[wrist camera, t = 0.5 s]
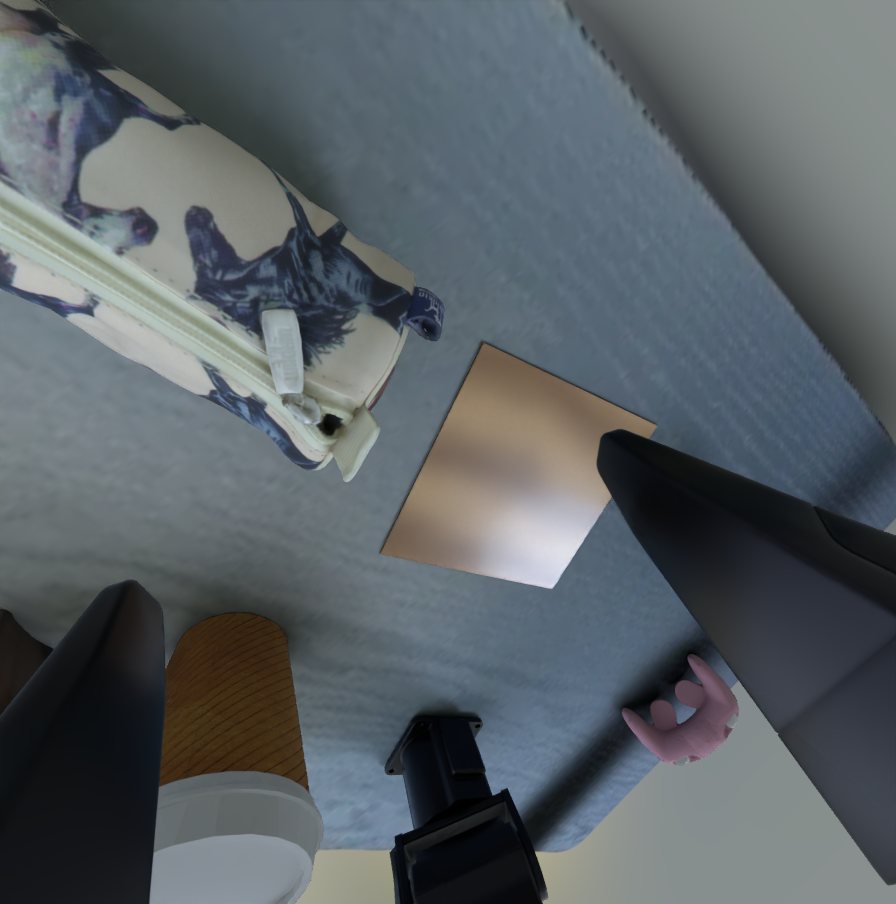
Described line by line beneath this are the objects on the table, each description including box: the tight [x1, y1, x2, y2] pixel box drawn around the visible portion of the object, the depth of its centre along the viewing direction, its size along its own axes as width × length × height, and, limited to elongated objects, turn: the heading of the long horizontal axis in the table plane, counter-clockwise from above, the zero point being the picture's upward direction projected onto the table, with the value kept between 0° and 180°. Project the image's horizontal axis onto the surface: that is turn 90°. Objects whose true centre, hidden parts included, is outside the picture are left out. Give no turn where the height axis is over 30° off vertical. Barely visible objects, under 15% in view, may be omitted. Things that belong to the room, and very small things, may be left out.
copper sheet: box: [380, 342, 657, 589], centre depth 29 cm, size 14×14×1 cm
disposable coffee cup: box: [149, 613, 323, 904], centre depth 22 cm, size 10×10×12 cm
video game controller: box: [622, 654, 739, 766], centre depth 43 cm, size 10×5×7 cm, turn 130°
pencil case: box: [0, 0, 444, 482], centre depth 13 cm, size 22×8×10 cm, turn 53°
